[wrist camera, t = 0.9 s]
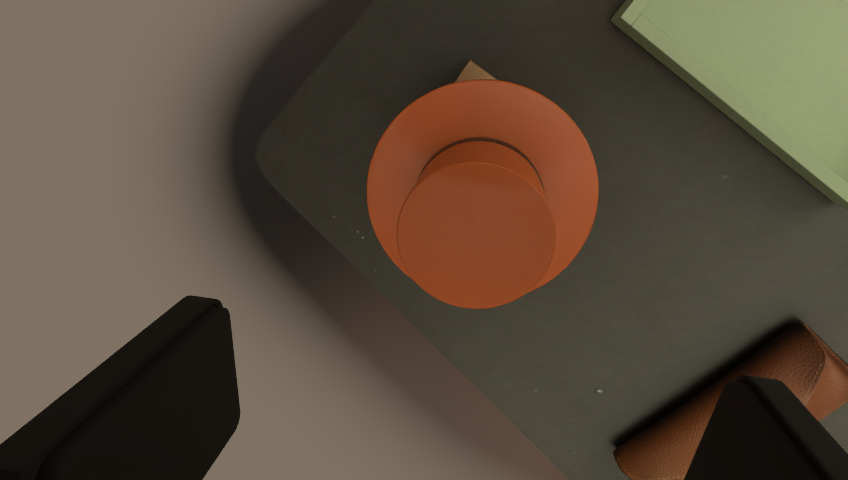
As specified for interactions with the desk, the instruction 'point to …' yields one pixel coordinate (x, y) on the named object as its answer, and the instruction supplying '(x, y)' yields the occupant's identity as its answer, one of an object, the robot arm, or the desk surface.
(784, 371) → the sunglasses case
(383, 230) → the small hat
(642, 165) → the desk surface
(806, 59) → the tray
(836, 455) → the robot arm
